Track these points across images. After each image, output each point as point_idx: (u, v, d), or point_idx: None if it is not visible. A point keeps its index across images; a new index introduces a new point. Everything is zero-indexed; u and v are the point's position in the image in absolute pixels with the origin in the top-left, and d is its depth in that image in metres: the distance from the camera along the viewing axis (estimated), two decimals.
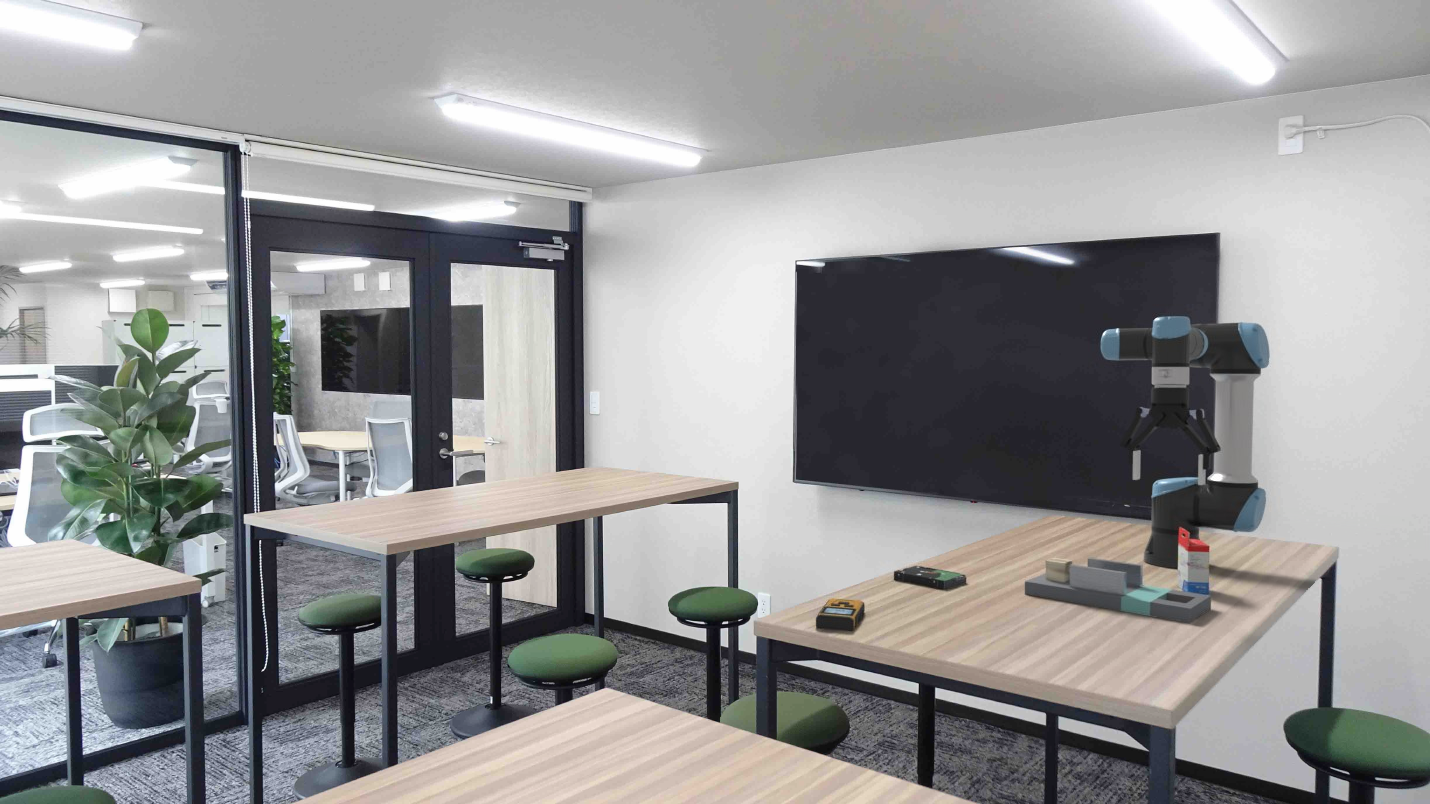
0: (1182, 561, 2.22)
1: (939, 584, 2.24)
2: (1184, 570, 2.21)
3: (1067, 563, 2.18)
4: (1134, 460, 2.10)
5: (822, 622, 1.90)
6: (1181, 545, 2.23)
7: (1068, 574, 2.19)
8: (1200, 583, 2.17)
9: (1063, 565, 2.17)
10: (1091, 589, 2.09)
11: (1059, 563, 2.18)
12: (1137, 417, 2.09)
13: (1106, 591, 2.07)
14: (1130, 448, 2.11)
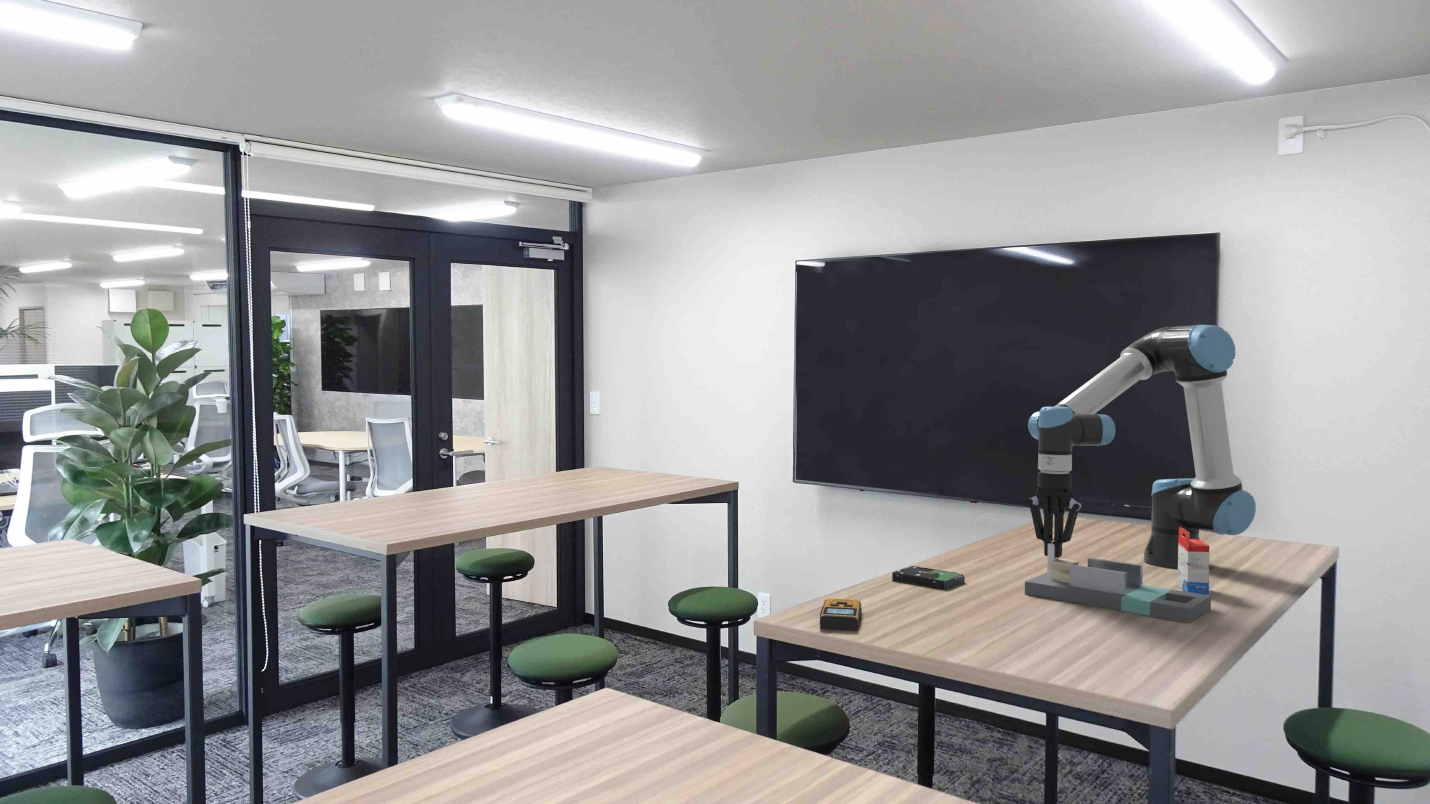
0: (1182, 561, 2.22)
1: (940, 584, 2.23)
2: (1183, 570, 2.21)
3: (1073, 564, 2.17)
4: (1049, 552, 2.20)
5: (827, 623, 1.89)
6: (1181, 545, 2.23)
7: None
8: (1200, 583, 2.17)
9: (1069, 566, 2.16)
10: (1091, 589, 2.09)
11: (1065, 564, 2.17)
12: (1032, 507, 2.23)
13: (1106, 591, 2.07)
14: (1046, 541, 2.21)
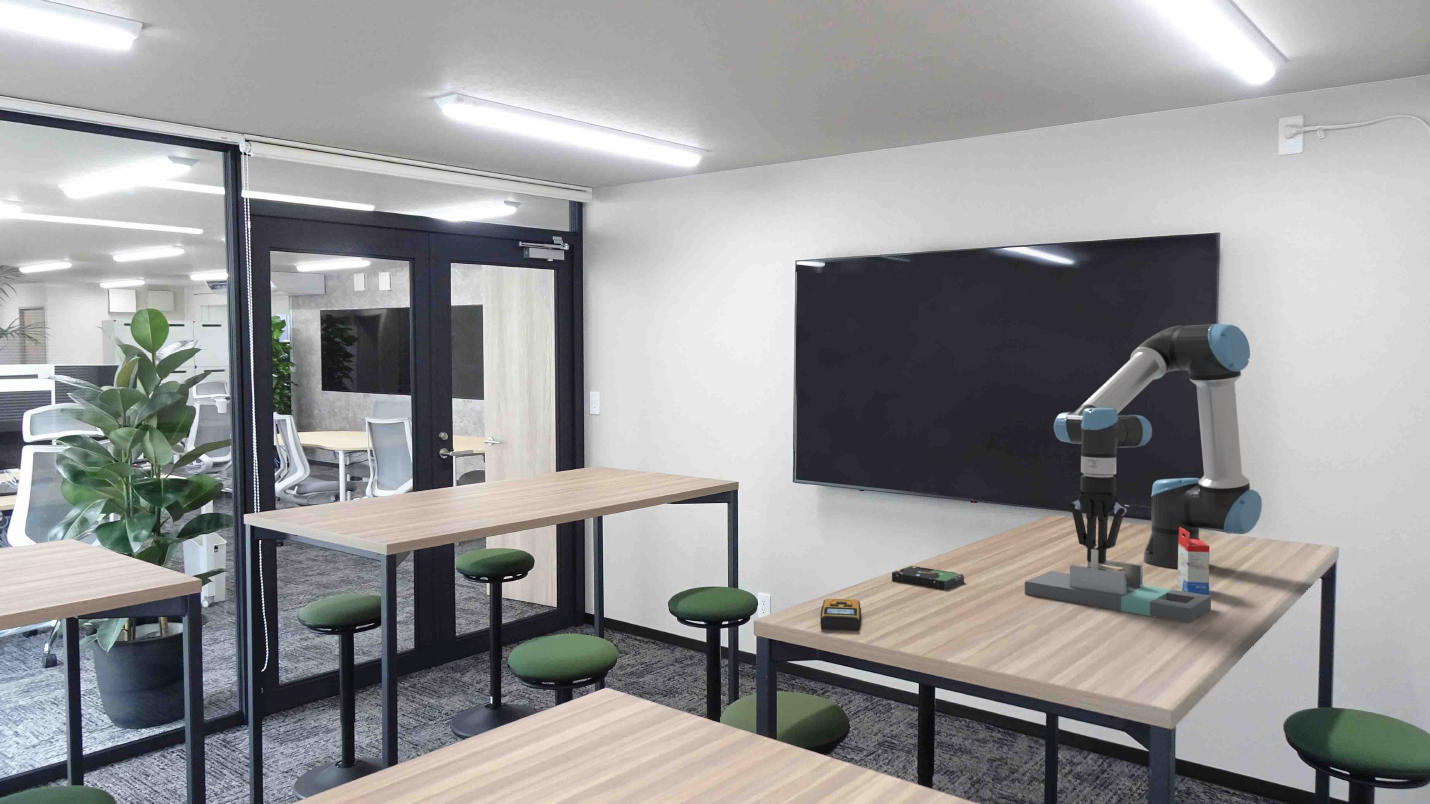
0: (1182, 561, 2.22)
1: (940, 584, 2.23)
2: (1184, 570, 2.21)
3: None
4: (1092, 558, 2.13)
5: (828, 623, 1.89)
6: (1181, 545, 2.23)
7: None
8: (1200, 583, 2.17)
9: None
10: (1091, 589, 2.09)
11: None
12: (1074, 512, 2.16)
13: (1106, 591, 2.07)
14: (1089, 546, 2.14)
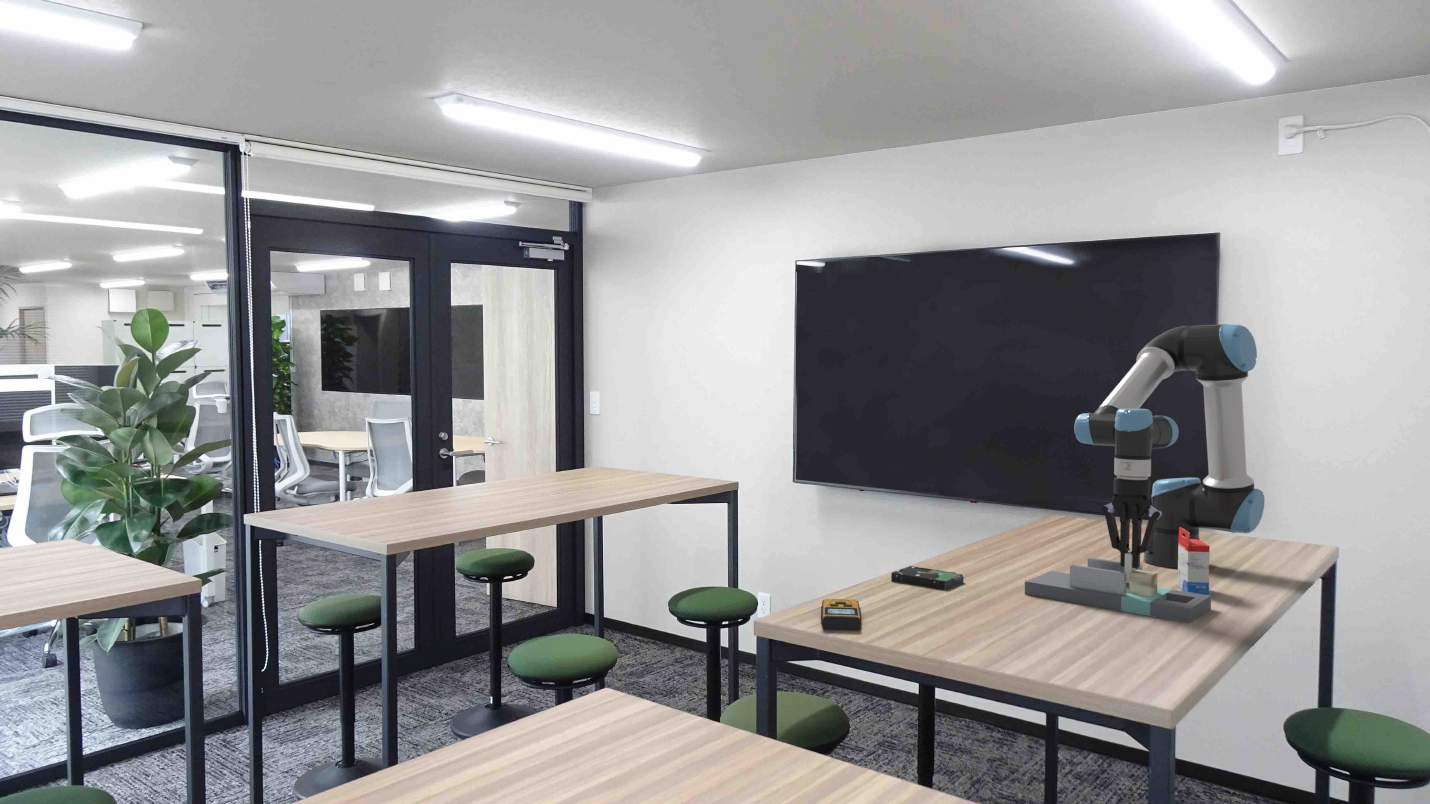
0: (1182, 561, 2.22)
1: (940, 584, 2.23)
2: (1183, 570, 2.21)
3: (1153, 576, 2.05)
4: (1126, 563, 2.08)
5: (829, 623, 1.89)
6: (1181, 545, 2.23)
7: (1154, 587, 2.06)
8: (1200, 583, 2.17)
9: (1149, 578, 2.04)
10: (1091, 589, 2.09)
11: (1144, 576, 2.05)
12: (1107, 515, 2.11)
13: (1106, 591, 2.07)
14: (1122, 550, 2.09)
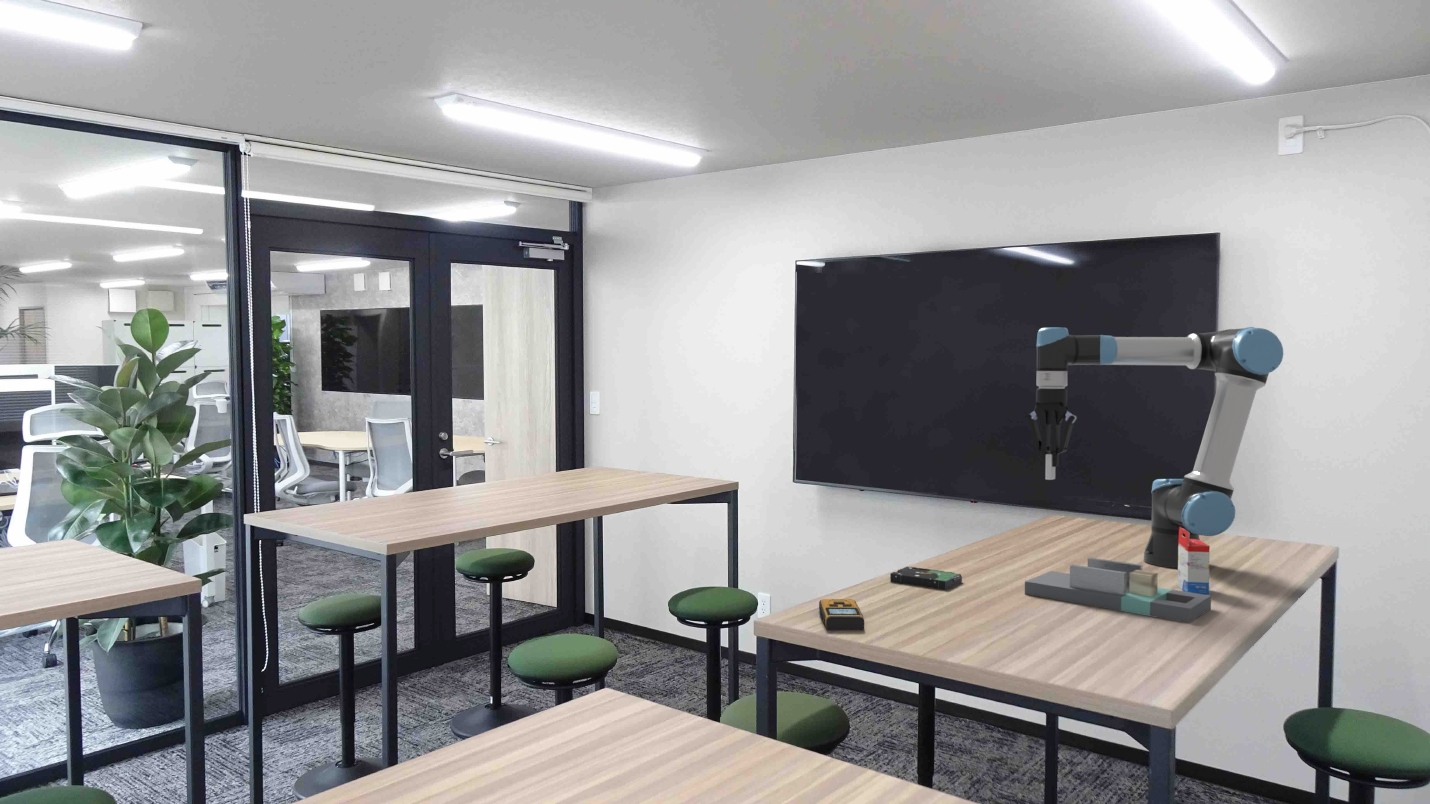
0: (1182, 561, 2.22)
1: (941, 584, 2.23)
2: (1184, 570, 2.21)
3: (1153, 576, 2.05)
4: (1046, 462, 2.39)
5: (833, 624, 1.89)
6: (1181, 545, 2.23)
7: (1154, 587, 2.06)
8: (1200, 583, 2.17)
9: (1149, 578, 2.04)
10: (1091, 589, 2.09)
11: (1145, 576, 2.05)
12: (1031, 421, 2.41)
13: (1106, 591, 2.07)
14: (1043, 452, 2.39)
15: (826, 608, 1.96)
